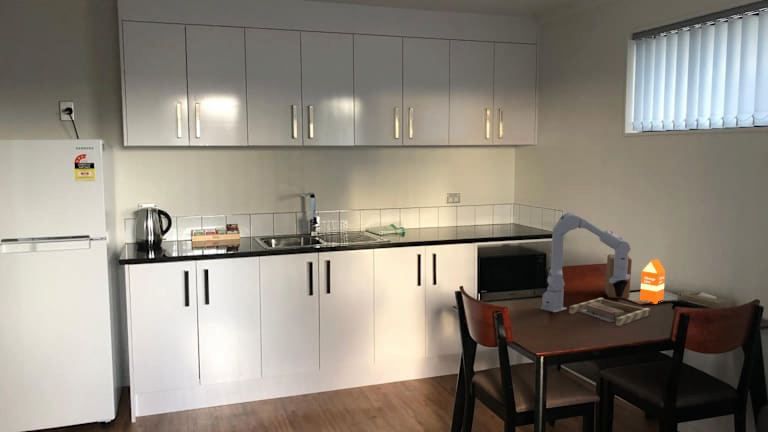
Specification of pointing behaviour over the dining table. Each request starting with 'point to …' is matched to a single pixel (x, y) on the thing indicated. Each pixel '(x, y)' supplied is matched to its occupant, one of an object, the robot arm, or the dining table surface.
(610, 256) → the wooden block
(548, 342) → the dining table surface
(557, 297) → the robot arm
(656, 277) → the orange juice
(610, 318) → the packaged product
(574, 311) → the beige wooden frame
